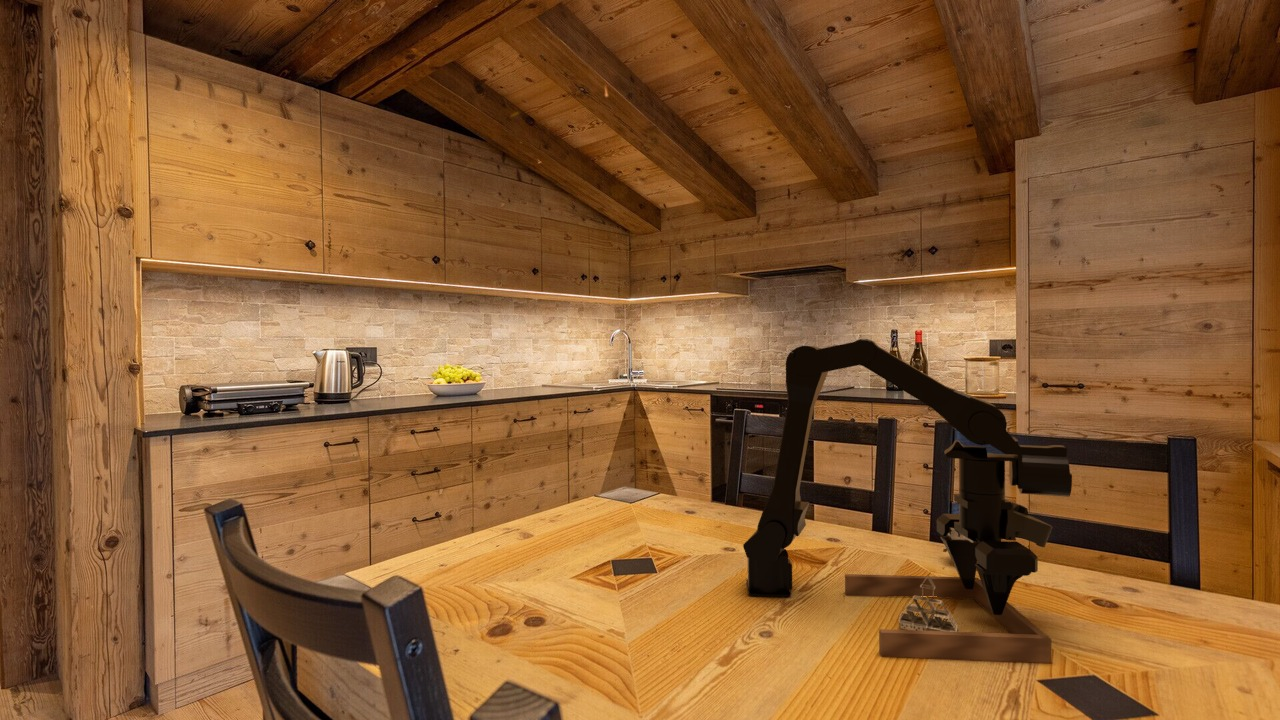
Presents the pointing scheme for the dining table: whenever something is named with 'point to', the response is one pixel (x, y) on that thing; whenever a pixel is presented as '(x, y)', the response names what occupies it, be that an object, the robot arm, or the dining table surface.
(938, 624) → the house of cards
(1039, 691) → the dining table surface
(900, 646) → the wooden arch
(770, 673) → the dining table surface
